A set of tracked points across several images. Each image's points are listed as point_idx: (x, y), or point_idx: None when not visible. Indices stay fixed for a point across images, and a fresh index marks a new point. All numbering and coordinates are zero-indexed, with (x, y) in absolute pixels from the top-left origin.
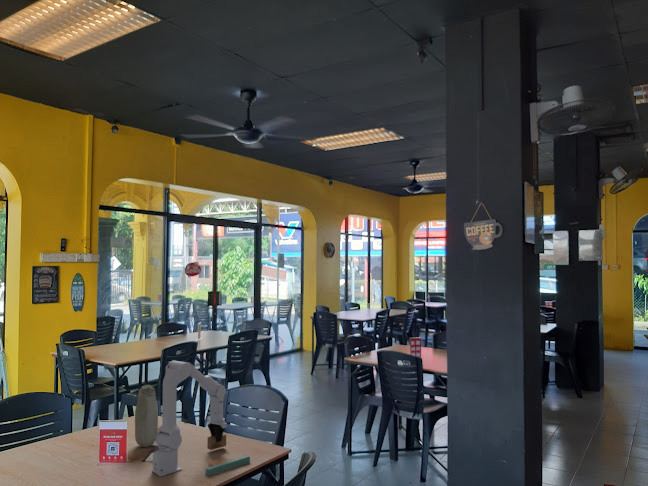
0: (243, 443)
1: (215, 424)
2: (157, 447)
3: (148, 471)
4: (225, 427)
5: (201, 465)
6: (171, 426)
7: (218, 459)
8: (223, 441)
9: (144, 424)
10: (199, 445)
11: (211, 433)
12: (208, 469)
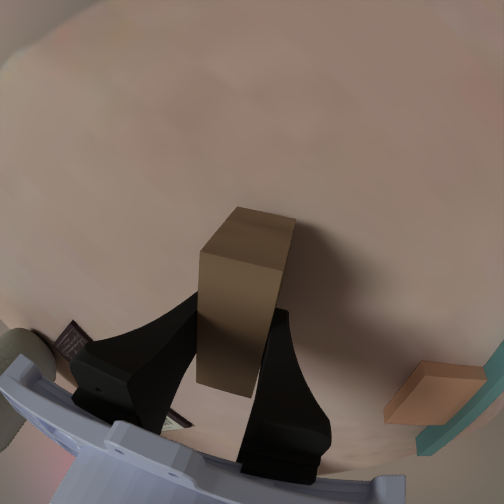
0: (324, 32)
1: (144, 415)
2: (70, 356)
3: (233, 460)
4: (395, 485)
5: (350, 416)
6: None
7: (412, 393)
8: (284, 268)
9: (23, 423)
10: (112, 262)
11: (182, 371)
12: (431, 454)
